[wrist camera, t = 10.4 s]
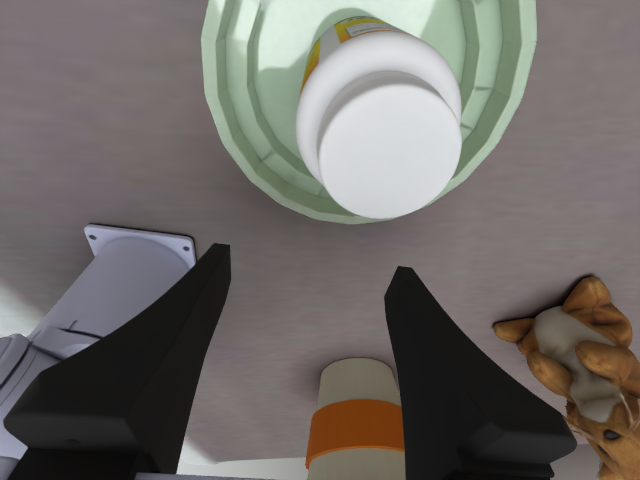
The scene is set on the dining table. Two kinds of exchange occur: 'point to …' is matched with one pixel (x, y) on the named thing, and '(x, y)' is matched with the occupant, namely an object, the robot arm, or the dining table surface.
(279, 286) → the dining table surface
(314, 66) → the supplement bottle
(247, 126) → the bowl
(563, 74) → the dining table surface
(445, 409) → the robot arm
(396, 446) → the reusable coffee cup
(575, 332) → the stuffed squirrel
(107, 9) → the dining table surface
